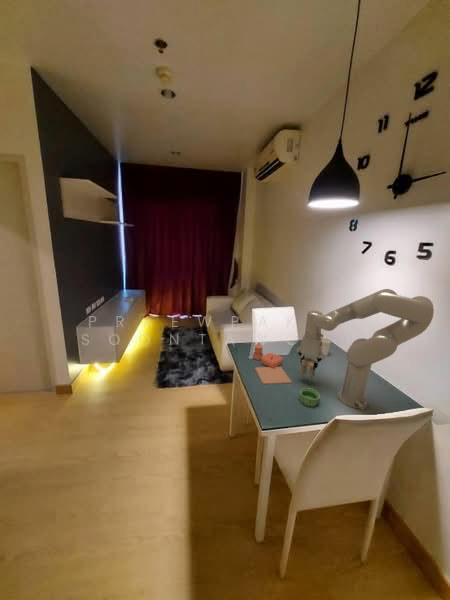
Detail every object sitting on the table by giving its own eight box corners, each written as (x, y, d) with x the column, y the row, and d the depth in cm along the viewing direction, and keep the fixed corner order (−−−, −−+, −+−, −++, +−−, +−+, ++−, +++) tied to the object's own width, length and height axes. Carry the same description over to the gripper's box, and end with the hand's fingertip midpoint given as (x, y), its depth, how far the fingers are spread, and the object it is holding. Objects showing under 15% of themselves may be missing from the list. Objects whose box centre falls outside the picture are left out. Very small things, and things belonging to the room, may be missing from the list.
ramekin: (305, 408, 113) (306, 400, 112) (295, 396, 121) (296, 388, 120) (322, 406, 115) (323, 398, 114) (311, 394, 124) (312, 386, 122)
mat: (291, 383, 132) (291, 382, 132) (263, 384, 130) (263, 383, 129) (280, 367, 147) (280, 366, 147) (254, 368, 145) (254, 367, 145)
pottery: (281, 363, 151) (283, 348, 149) (273, 368, 144) (274, 353, 142) (258, 354, 163) (259, 340, 161) (249, 358, 157) (250, 343, 154)
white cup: (322, 350, 174) (324, 337, 171) (331, 355, 166) (333, 342, 164) (313, 352, 171) (315, 338, 168) (321, 357, 164) (324, 343, 161)
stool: (314, 375, 134) (316, 359, 132) (311, 379, 129) (313, 364, 127) (303, 371, 137) (305, 356, 135) (300, 376, 132) (301, 360, 130)
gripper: (331, 336, 126) (327, 368, 130) (298, 328, 135) (295, 359, 140) (328, 341, 120) (323, 374, 124) (293, 332, 129) (290, 364, 134)
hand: (308, 366), depth 132 cm, fingers closed on stool, 6 cm apart
